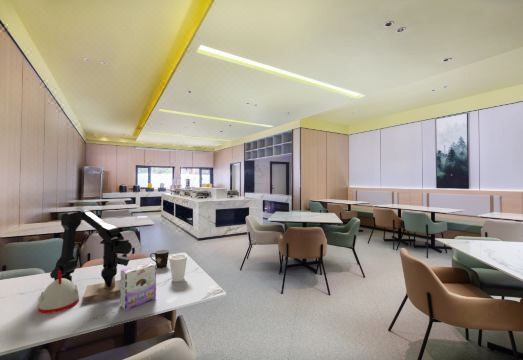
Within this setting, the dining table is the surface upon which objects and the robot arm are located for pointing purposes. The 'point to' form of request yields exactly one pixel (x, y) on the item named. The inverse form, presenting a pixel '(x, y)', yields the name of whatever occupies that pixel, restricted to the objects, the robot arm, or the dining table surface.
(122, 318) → the dining table surface
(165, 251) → the coffee mug
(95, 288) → the board
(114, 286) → the peg
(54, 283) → the kitchen timer
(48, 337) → the dining table surface
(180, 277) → the foam cup
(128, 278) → the candy box
